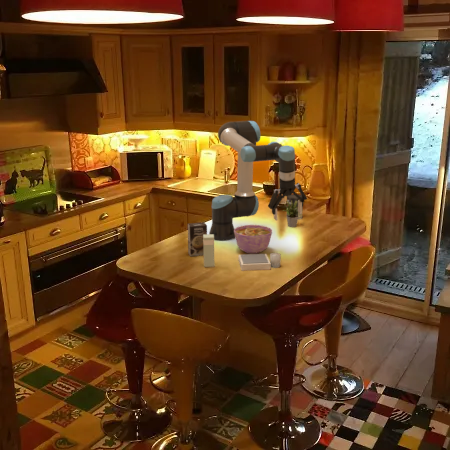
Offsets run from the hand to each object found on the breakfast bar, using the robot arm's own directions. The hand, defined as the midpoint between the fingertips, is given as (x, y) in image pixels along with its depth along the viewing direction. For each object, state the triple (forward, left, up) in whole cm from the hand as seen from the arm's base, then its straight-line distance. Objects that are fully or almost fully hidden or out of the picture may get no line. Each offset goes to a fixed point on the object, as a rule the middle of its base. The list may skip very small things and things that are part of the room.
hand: (287, 215), depth 269 cm
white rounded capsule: (+13, -8, -21) cm, 26 cm away
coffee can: (-71, +19, -22) cm, 77 cm away
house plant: (-51, +14, -22) cm, 57 cm away
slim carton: (+9, -40, -21) cm, 46 cm away
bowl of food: (-9, -16, -22) cm, 29 cm away
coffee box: (-8, -45, -22) cm, 51 cm away
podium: (+11, -18, -21) cm, 30 cm away
